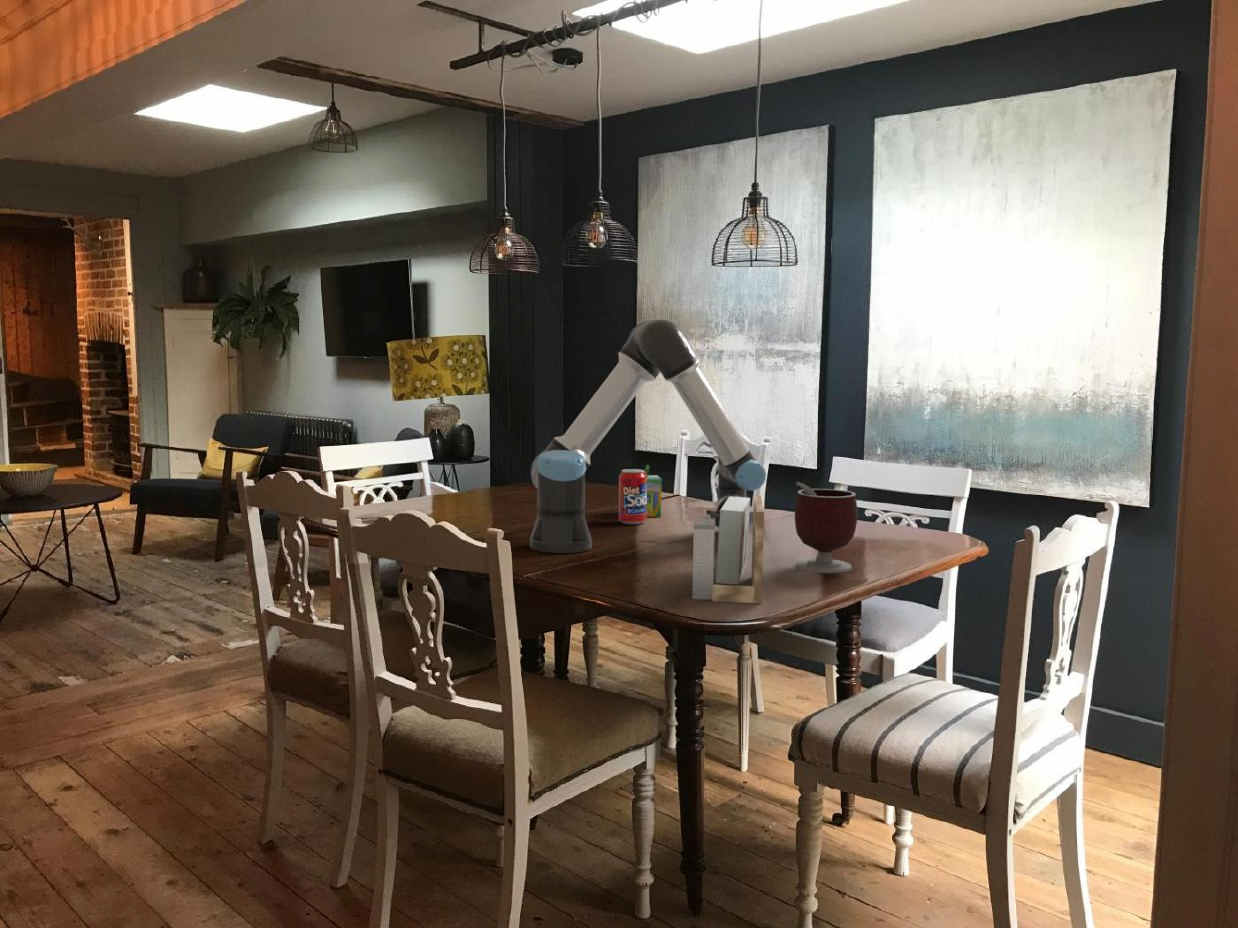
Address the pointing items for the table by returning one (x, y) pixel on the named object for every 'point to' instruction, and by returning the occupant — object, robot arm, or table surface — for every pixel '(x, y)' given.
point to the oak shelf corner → (755, 591)
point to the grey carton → (703, 558)
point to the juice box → (653, 494)
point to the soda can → (632, 496)
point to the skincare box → (732, 540)
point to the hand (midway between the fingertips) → (731, 527)
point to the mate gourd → (825, 526)
